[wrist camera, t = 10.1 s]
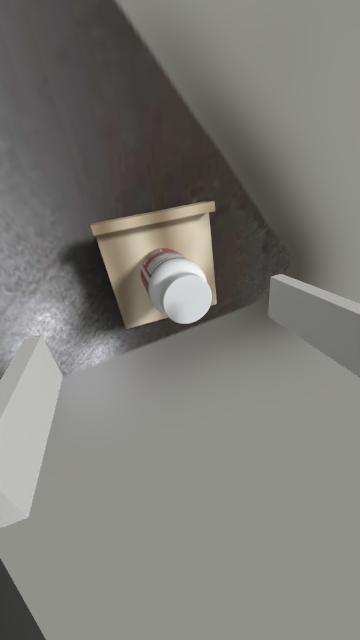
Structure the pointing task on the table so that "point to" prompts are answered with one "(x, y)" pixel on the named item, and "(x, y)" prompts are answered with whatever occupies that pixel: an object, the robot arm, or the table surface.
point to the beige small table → (145, 236)
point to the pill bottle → (175, 285)
